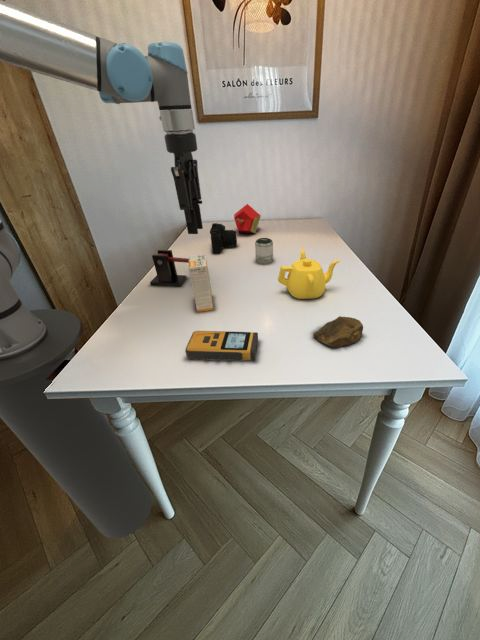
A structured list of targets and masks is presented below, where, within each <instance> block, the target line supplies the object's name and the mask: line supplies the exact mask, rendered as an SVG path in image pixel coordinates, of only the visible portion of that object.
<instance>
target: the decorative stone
mask: <svg viewBox="0 0 480 640" xmlns="http://www.w3.org/2000/svg"><path fill="white" fill-rule="evenodd" d="M363 331H364V325H363V323H362V321H361V320H359V319H357V318H354V317H349V316H341V315H340V316H338V317H336V318H335V319H333V320H331V321H328V322H326V323H325V324H323V326H322V327H320V329H318V330H316V331H315V332H314V333H313V334H312V336H313V338H314V339H315V340H317V341H318V342H320V343H322V344H324V345H326V346H329V347H332V348H335V349H338V348H339V347H341V346H349V345H352V344H354V343H358V341H360V339H361V337H362V336H363Z"/></svg>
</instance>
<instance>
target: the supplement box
mask: <svg viewBox="0 0 480 640" xmlns="http://www.w3.org/2000/svg"><path fill="white" fill-rule="evenodd" d="M188 259H189V263H188V271H189V276H190V281H191V282H190V283H191V286H192V292H193V297H194V298H193V299H194V303H195V308H196V312H197V313H199V312H208V311H213V310H214V306H213V296H212V288H211V287H212V286H211V281H210V273H209V267H208V262H207V261H208V260H207V257H206V254H198V255H190V256H188Z"/></svg>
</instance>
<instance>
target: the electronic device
mask: <svg viewBox="0 0 480 640" xmlns="http://www.w3.org/2000/svg"><path fill="white" fill-rule="evenodd" d="M258 345H259V333H258V332H252V331H251V332H250V331H224V330H223V331H220V330H219V331H218V330H217V331H216V330H195V331H193V332H192V333H191V335H190V337H189V340H188V343H187V345H186V347H185V354H186V357H187V358H188V359H189V360H213V361H214V360H217V361H254V362H255V361H256V357H257V351H258Z"/></svg>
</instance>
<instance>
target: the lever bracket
mask: <svg viewBox="0 0 480 640" xmlns="http://www.w3.org/2000/svg"><path fill="white" fill-rule="evenodd" d="M160 253H164V254H168V255H169V257H174V254H173V250H172V249H158V250H157V254H152V255H151V257H152V262H153V265H154V270H155V273H156V275H155V276H154V277H153V279H151V281H150V282H149V284H150V286H151V287H152V286H153V287H179V288H180V287H182V285H183V284H184V282H185V281H186V280H187V275H186V274H178V273H177V268H176V264H175V263H176V262H173V261H169V262H168V258H167V255H158V254H160Z"/></svg>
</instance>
